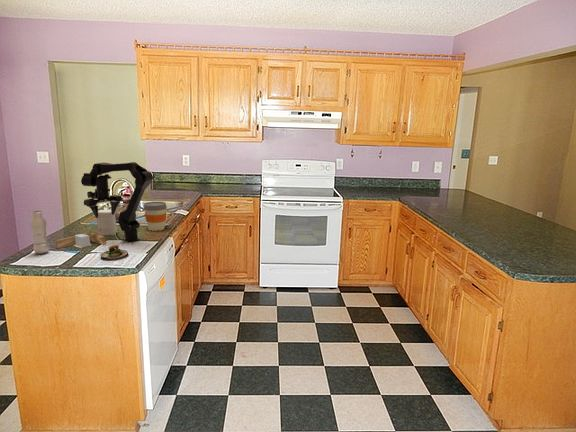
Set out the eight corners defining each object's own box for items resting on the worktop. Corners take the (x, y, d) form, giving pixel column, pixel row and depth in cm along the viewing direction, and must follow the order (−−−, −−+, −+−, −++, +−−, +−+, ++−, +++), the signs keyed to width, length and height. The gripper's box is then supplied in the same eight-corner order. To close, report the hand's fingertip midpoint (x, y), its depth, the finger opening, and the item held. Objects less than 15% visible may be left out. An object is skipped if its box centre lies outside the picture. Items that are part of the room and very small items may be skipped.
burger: (98, 262, 178) (96, 246, 176) (103, 253, 189) (102, 238, 187) (126, 260, 181) (125, 244, 179) (130, 252, 192) (129, 237, 190)
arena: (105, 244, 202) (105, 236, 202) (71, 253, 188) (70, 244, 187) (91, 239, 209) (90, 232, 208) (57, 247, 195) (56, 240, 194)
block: (83, 243, 203) (82, 233, 202) (90, 245, 200) (89, 235, 198) (75, 244, 199) (74, 235, 198) (82, 247, 196) (81, 237, 195)
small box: (116, 232, 224) (115, 209, 221) (113, 235, 218) (111, 212, 215) (102, 232, 223) (99, 209, 220) (97, 235, 217) (95, 212, 214)
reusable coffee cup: (169, 230, 230) (168, 205, 226) (146, 232, 225) (144, 206, 221) (165, 225, 241) (164, 201, 237) (144, 227, 236) (142, 202, 232)
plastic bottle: (32, 255, 183) (26, 213, 179) (36, 251, 190) (31, 210, 185) (47, 254, 185) (42, 213, 180) (51, 250, 191) (46, 209, 187)
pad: (91, 245, 200) (91, 244, 200) (80, 248, 196) (80, 247, 195) (85, 242, 204) (85, 242, 204) (73, 245, 199) (73, 245, 199)
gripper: (109, 183, 218) (111, 211, 222) (76, 187, 203) (79, 217, 206) (122, 185, 212) (124, 214, 216) (88, 190, 197) (91, 220, 200)
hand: (104, 216), depth 210 cm, fingers open, 9 cm apart
